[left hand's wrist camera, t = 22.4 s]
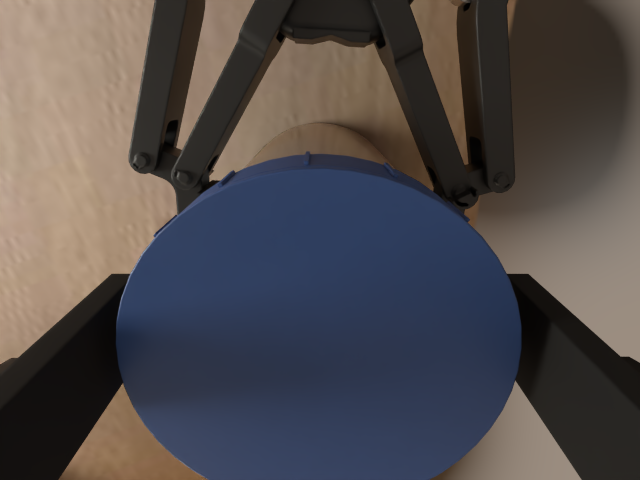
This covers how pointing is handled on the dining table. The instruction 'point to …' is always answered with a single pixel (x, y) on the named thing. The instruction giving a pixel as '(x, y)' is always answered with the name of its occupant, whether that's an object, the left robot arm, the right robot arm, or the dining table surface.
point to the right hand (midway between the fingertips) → (315, 309)
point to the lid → (318, 327)
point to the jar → (319, 144)
